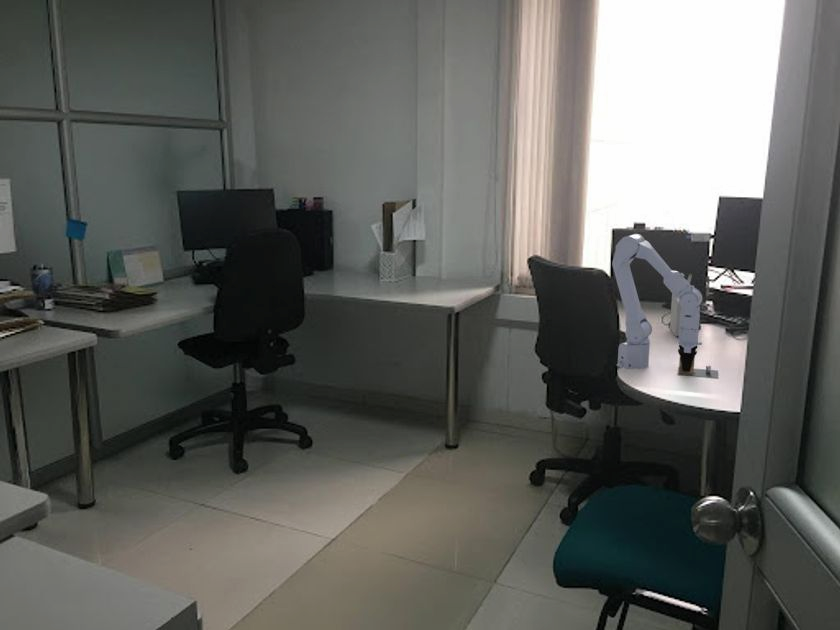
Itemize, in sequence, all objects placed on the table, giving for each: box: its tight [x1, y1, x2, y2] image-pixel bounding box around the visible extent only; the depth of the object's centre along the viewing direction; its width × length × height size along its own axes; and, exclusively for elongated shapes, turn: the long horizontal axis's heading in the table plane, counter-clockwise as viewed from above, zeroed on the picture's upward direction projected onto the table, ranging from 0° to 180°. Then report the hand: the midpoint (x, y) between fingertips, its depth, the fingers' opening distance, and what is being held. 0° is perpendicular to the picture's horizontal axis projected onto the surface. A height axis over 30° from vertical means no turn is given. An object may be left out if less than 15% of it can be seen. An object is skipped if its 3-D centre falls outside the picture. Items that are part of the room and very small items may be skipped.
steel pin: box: [705, 365, 712, 374], centre depth 226 cm, size 1×1×2 cm
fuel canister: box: [669, 273, 693, 338], centre depth 277 cm, size 15×5×25 cm, turn 170°
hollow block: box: [678, 356, 696, 374], centre depth 228 cm, size 4×4×5 cm
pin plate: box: [677, 366, 719, 380], centre depth 227 cm, size 12×9×1 cm
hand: (686, 369), depth 228 cm, fingers closed on hollow block, 4 cm apart
